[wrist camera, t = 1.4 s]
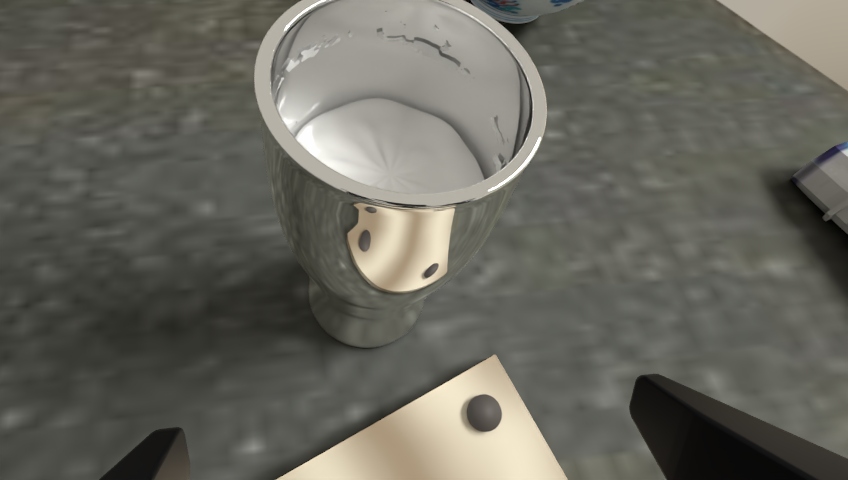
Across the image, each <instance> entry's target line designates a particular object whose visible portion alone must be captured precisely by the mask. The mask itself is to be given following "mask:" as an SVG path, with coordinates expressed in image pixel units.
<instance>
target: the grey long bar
mask: <svg viewBox="0 0 848 480" xmlns="http://www.w3.org/2000/svg"><path fill="white" fill-rule="evenodd" d="M791 180H792V181H793V182H794V183H795V184H796V185H797V186H798V187H799V188H800V189H801V191H802V192H803V193H804V194H805V195H806V196H807V197H808V198H809V199H810V200H811V201H812V202H813V203H814V204H816V205H817V206H818V207H819V208H820V209H821V210H822V211H823V212H824V213H825V215H824V216H823V217H822V218H823V219H824V220H825V221H827V220H830V219H832V220H833V221H834V222H835V223H836V224H837V225H838V226H839V227H840V228H841V229H842V230H844V231H845V232H846V233H847V234H848V141H847V142H844V143H842V144H839V145H836V146H834V147H832V148H831V149H829V150H828V151H826V152H824V153H823V154H821V155H820V156H818V157H816V158H815V159H813V160H811V161H810V162H809V163H808V164H806V165H805V166H804V167H803V168H801V169H800V170H799V171H798V172H796V173H795V174H794V175H793V176H792V178H791Z"/></svg>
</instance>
